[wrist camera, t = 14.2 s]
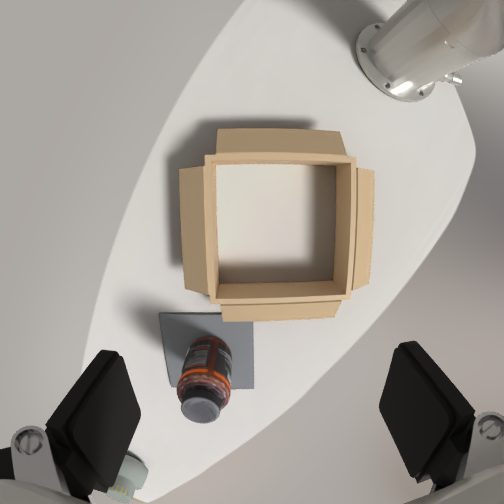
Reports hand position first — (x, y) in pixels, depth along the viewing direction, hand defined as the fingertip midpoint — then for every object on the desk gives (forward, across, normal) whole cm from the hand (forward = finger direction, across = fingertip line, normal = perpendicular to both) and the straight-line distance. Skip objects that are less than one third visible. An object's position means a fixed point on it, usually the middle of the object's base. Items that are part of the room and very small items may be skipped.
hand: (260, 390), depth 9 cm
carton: (+26, -3, -1) cm, 26 cm away
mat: (+25, +6, +16) cm, 30 cm away
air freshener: (+24, +27, +45) cm, 58 cm away
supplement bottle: (+25, +6, +15) cm, 30 cm away
